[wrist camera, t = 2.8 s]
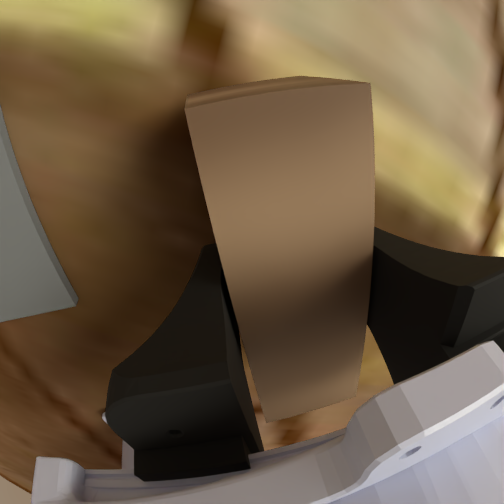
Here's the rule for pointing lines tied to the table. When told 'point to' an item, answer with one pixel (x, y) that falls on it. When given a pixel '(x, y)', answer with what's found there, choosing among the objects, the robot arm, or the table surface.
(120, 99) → the table surface
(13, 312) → the slate mat
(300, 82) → the brown wooden block
